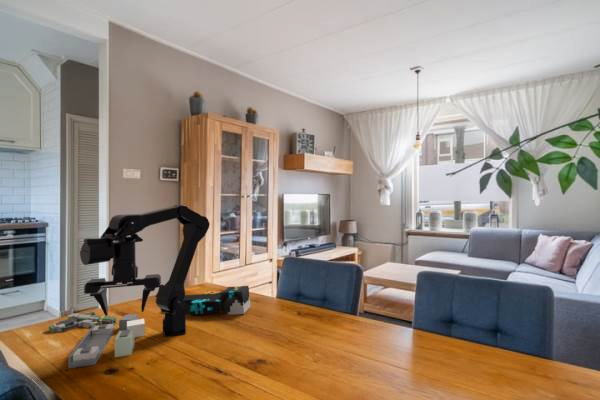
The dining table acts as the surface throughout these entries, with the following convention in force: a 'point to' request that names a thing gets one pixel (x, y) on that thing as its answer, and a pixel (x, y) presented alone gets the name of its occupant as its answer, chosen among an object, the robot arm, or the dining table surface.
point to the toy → (220, 301)
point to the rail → (91, 346)
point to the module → (124, 343)
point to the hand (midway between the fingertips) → (125, 313)
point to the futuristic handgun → (81, 322)
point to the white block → (124, 321)
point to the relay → (137, 327)
